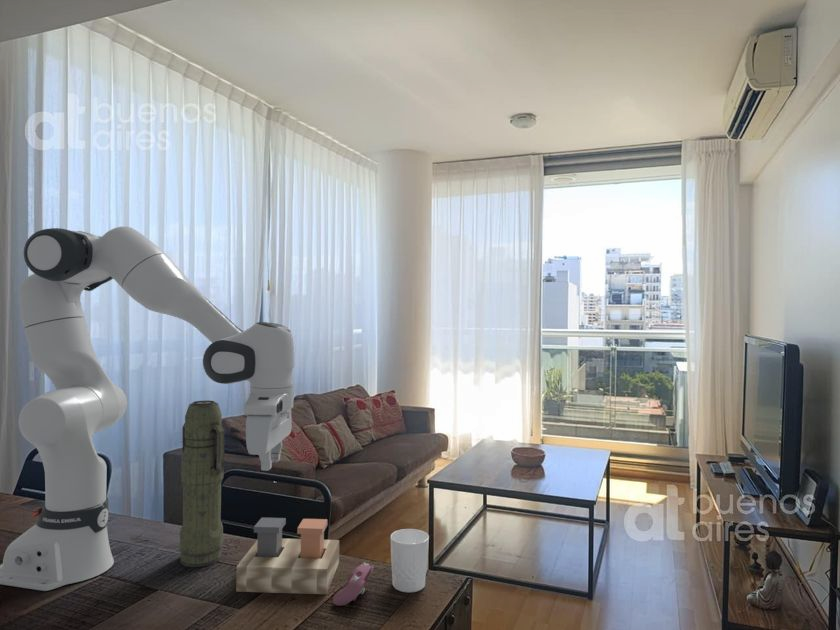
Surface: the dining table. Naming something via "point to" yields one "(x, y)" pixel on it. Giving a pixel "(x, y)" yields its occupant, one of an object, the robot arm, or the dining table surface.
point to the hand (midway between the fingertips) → (270, 465)
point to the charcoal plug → (269, 536)
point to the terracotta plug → (312, 537)
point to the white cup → (409, 559)
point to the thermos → (202, 485)
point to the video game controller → (354, 585)
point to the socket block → (288, 570)
